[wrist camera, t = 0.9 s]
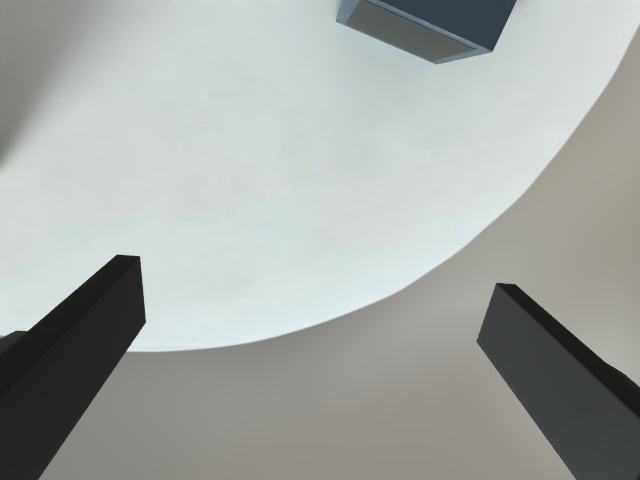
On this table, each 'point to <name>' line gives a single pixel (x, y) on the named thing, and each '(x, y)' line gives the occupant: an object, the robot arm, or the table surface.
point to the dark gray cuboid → (430, 25)
